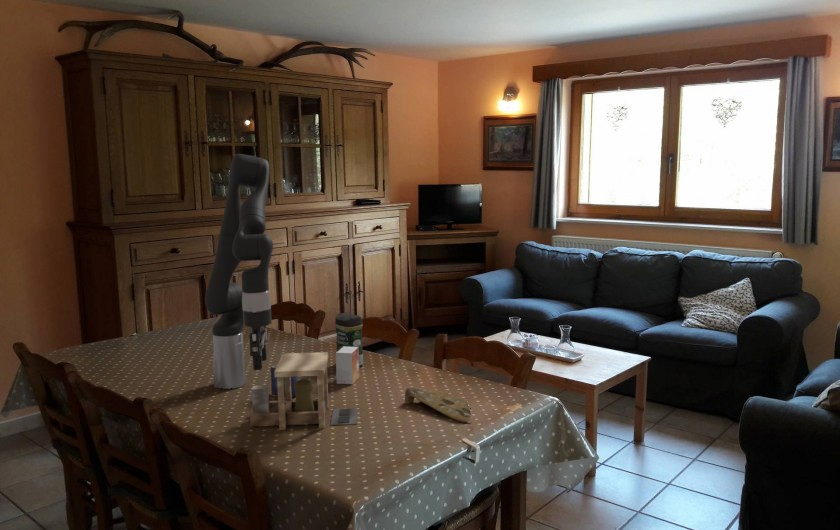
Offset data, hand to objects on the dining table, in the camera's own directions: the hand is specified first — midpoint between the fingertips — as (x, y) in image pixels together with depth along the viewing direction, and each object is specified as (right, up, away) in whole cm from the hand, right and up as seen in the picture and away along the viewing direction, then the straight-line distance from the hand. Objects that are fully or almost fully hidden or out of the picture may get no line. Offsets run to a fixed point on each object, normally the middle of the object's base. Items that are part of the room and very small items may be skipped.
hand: (260, 365), depth 184 cm
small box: (+20, -11, +35) cm, 42 cm away
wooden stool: (+16, -15, +3) cm, 22 cm away
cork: (+12, -16, +3) cm, 20 cm away
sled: (+8, -15, +3) cm, 17 cm away
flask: (+2, -13, +22) cm, 26 cm away
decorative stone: (+53, -15, +10) cm, 56 cm away
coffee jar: (+19, -8, +52) cm, 56 cm away
